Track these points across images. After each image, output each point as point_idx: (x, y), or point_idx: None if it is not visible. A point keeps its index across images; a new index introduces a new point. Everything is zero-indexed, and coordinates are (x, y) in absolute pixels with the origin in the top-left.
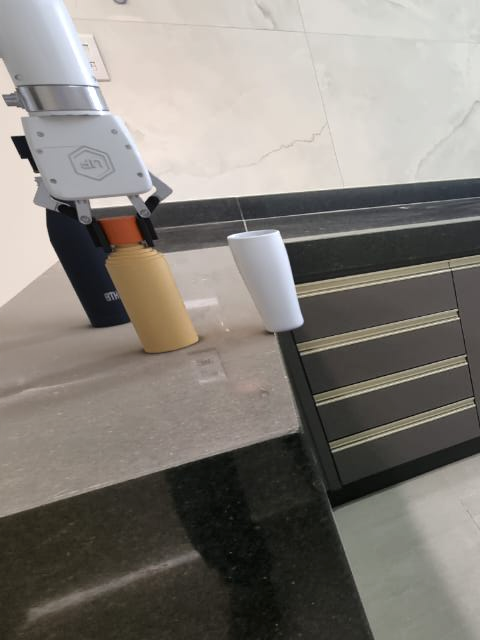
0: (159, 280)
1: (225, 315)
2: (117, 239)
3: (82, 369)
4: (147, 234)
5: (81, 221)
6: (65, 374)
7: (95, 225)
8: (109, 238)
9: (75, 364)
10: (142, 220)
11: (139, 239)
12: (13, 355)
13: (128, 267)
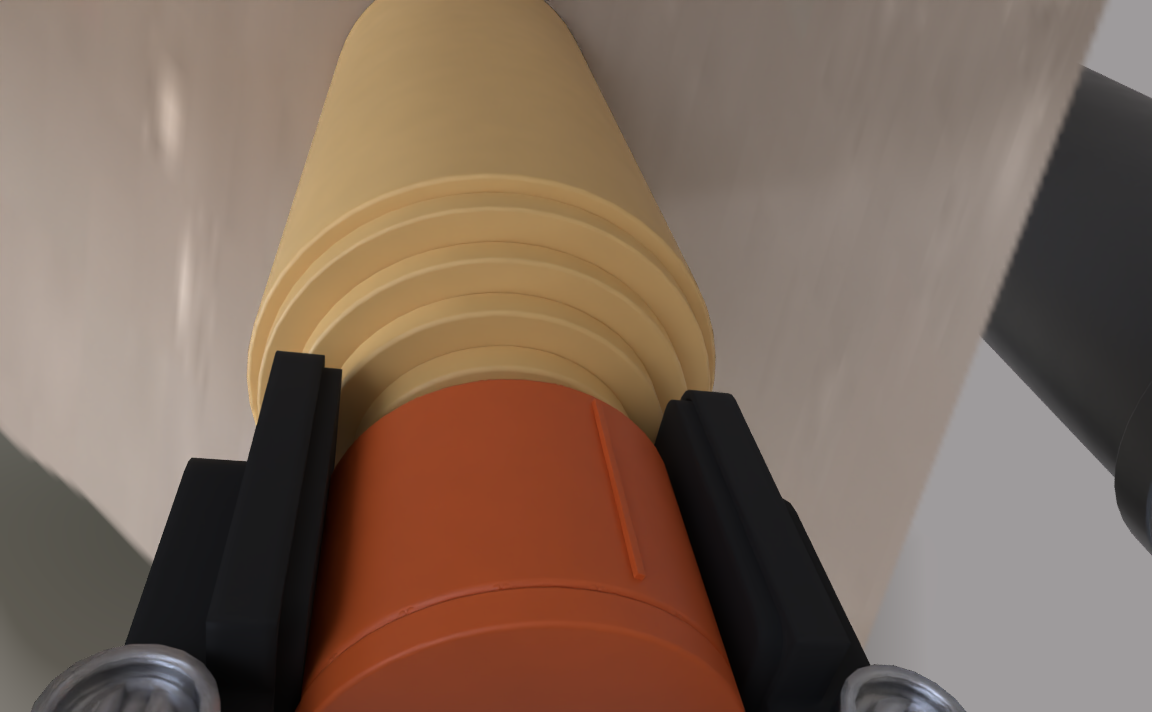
0: (394, 116)
1: (154, 439)
2: (610, 436)
3: (842, 84)
4: (278, 438)
5: (946, 707)
6: (905, 74)
7: (806, 624)
8: (671, 500)
9: (829, 207)
10: (231, 593)
11: (391, 424)
12: (893, 551)
13: (591, 185)
